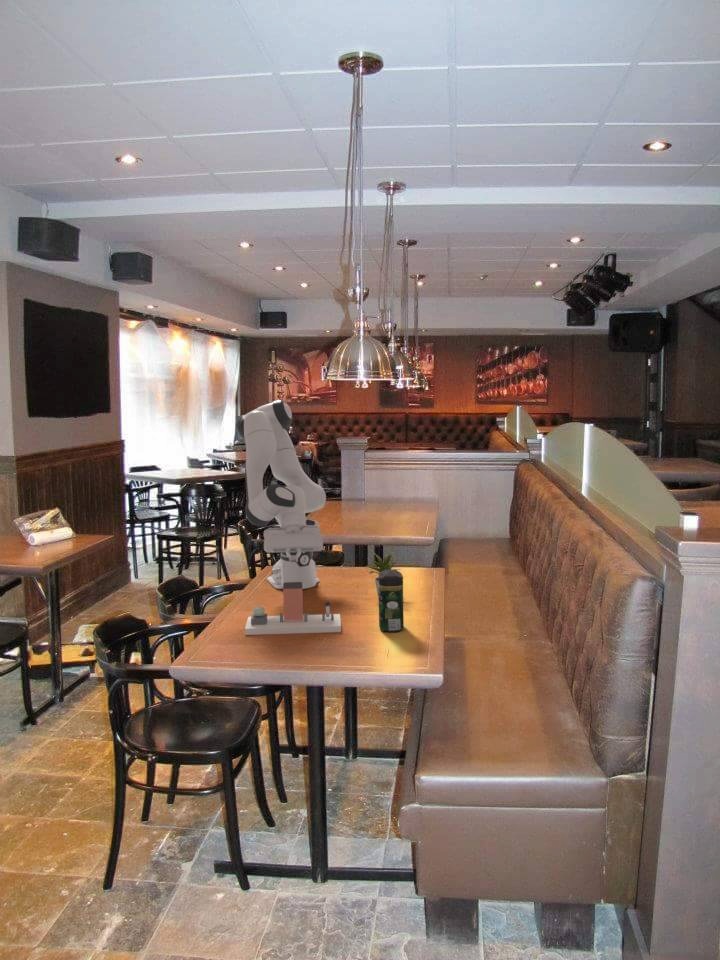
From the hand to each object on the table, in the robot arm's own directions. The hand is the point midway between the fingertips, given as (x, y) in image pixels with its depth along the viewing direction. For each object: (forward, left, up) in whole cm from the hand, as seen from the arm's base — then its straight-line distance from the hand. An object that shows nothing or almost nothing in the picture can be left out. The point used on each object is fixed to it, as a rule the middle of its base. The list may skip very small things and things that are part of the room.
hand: (293, 561), depth 246 cm
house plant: (-1, +38, -18) cm, 42 cm away
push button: (+7, -16, -14) cm, 23 cm away
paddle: (+12, -7, -16) cm, 21 cm away
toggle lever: (+18, +3, -16) cm, 24 cm away
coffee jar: (+31, +18, -18) cm, 40 cm away
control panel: (+12, -7, -18) cm, 23 cm away
